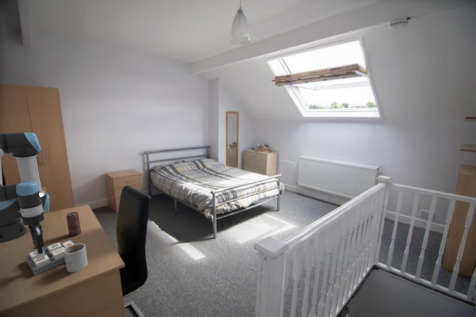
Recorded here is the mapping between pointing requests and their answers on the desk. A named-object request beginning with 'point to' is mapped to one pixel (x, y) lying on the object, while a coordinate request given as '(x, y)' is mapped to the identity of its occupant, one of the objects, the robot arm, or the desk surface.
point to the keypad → (53, 262)
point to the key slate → (33, 255)
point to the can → (73, 224)
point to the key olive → (54, 247)
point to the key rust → (41, 261)
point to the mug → (75, 257)
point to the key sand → (58, 253)
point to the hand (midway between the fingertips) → (41, 258)
